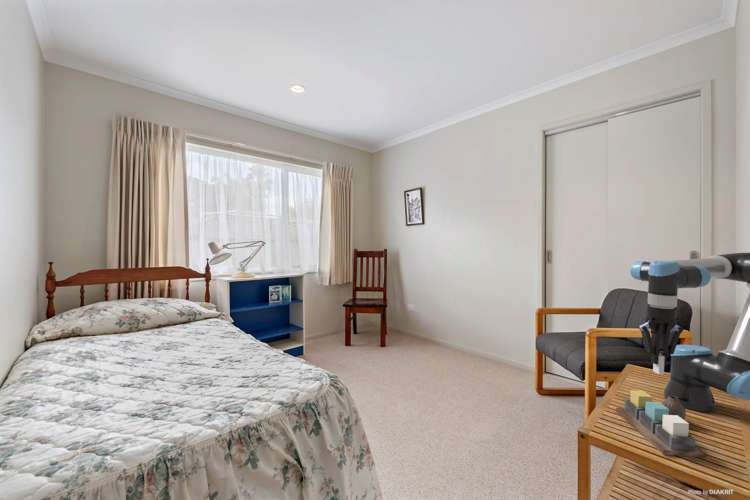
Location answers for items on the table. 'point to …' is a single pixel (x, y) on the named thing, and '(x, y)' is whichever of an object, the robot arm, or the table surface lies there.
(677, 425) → the plunger cream
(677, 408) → the vase
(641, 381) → the table surface
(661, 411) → the plunger teal
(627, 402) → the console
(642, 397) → the plunger ochre
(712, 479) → the table surface
